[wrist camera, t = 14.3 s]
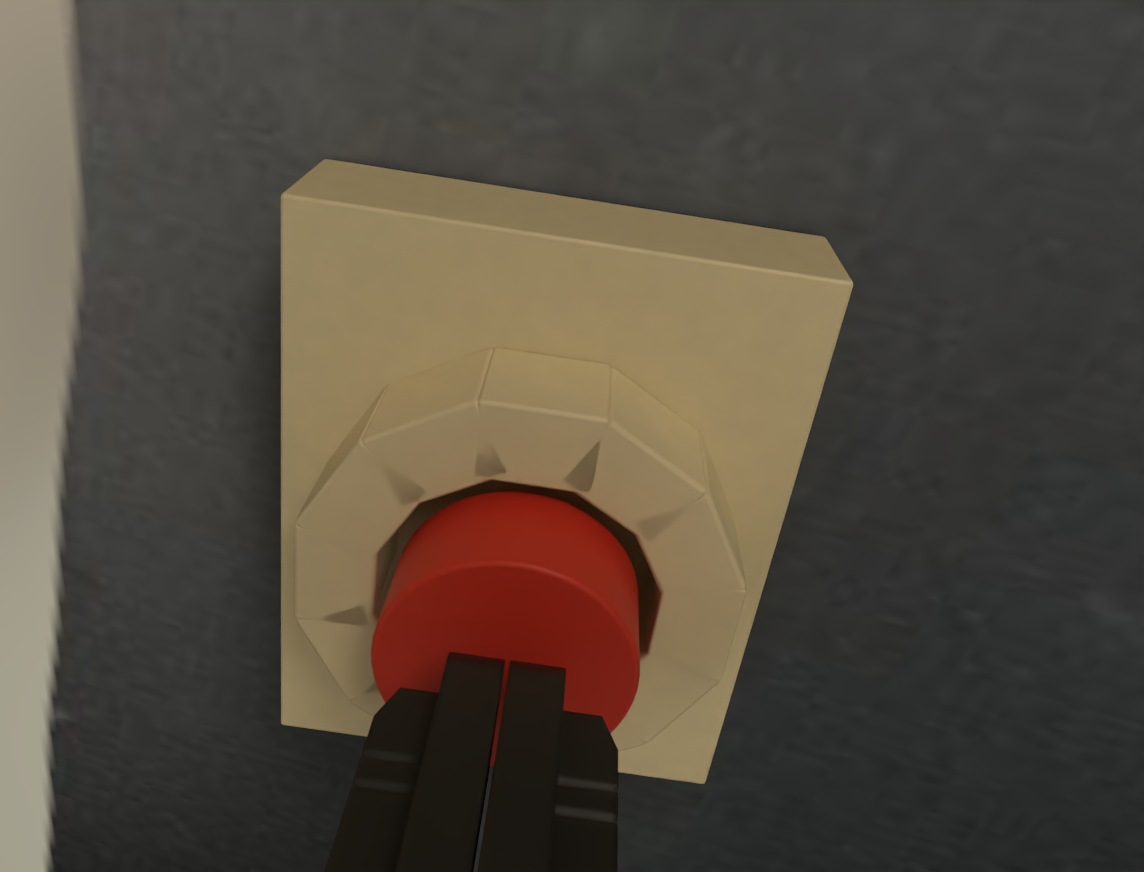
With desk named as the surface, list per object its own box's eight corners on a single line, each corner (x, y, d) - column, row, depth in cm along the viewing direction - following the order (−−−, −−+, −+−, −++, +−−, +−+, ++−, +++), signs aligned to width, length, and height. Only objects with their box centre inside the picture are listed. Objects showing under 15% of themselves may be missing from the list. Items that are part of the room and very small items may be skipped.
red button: (404, 471, 14) (375, 542, 12) (658, 508, 14) (662, 585, 12) (390, 666, 15) (364, 751, 14) (616, 698, 15) (615, 786, 14)
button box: (323, 157, 15) (231, 230, 12) (826, 236, 15) (885, 331, 12) (313, 646, 20) (247, 803, 16) (697, 701, 20) (712, 868, 17)
